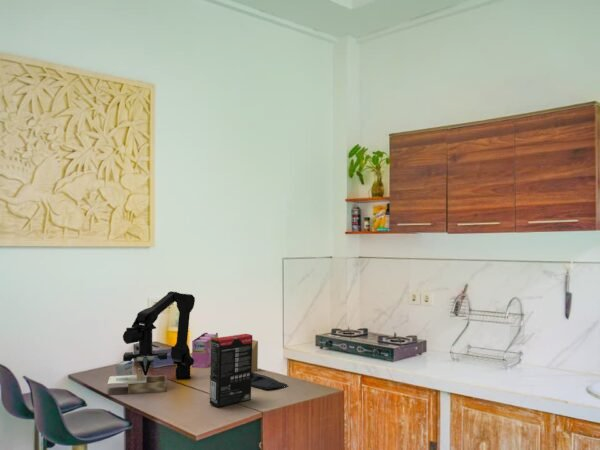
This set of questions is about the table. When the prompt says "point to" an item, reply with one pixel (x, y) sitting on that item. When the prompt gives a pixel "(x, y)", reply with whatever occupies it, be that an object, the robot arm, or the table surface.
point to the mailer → (149, 385)
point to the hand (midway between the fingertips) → (145, 375)
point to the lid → (128, 379)
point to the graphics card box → (230, 369)
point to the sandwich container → (254, 355)
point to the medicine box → (124, 368)
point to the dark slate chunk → (265, 382)
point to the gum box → (202, 350)
